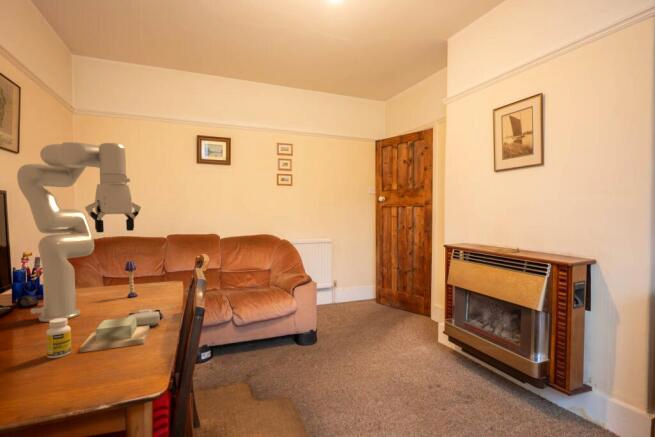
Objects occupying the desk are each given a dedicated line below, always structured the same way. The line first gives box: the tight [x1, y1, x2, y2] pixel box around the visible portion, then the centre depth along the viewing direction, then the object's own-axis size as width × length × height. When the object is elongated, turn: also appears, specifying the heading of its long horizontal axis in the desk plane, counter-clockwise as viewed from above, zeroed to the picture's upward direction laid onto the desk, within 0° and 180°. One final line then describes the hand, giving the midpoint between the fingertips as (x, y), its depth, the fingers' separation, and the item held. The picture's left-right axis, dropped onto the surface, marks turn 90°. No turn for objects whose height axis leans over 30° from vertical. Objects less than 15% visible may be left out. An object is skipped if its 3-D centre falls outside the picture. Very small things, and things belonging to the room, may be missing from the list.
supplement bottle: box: [45, 318, 72, 359], centre depth 95 cm, size 5×5×10 cm
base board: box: [79, 316, 151, 353], centre depth 105 cm, size 16×13×6 cm
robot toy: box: [127, 308, 165, 327], centre depth 120 cm, size 12×4×15 cm
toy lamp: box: [124, 260, 139, 299], centre depth 159 cm, size 5×5×17 cm
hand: (115, 231), depth 114 cm, fingers open, 9 cm apart
